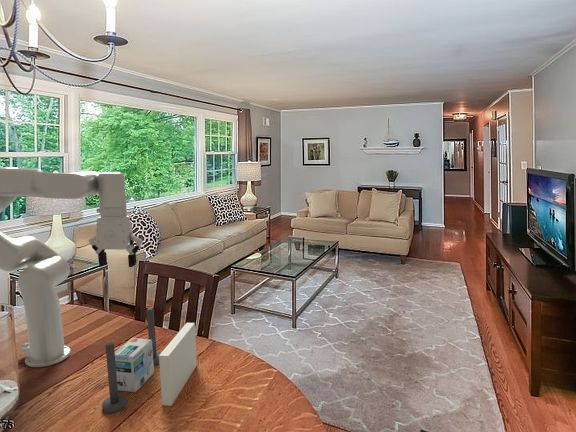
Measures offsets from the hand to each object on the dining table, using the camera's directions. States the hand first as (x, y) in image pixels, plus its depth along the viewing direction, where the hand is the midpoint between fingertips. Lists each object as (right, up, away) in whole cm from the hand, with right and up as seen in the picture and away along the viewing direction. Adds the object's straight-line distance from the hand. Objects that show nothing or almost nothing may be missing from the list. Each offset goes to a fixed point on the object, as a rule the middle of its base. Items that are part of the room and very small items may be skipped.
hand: (117, 265), depth 125 cm
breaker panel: (+23, -32, -12) cm, 41 cm away
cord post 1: (+8, -34, -21) cm, 41 cm away
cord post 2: (+11, -30, +1) cm, 32 cm away
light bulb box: (+9, -33, -10) cm, 35 cm away
